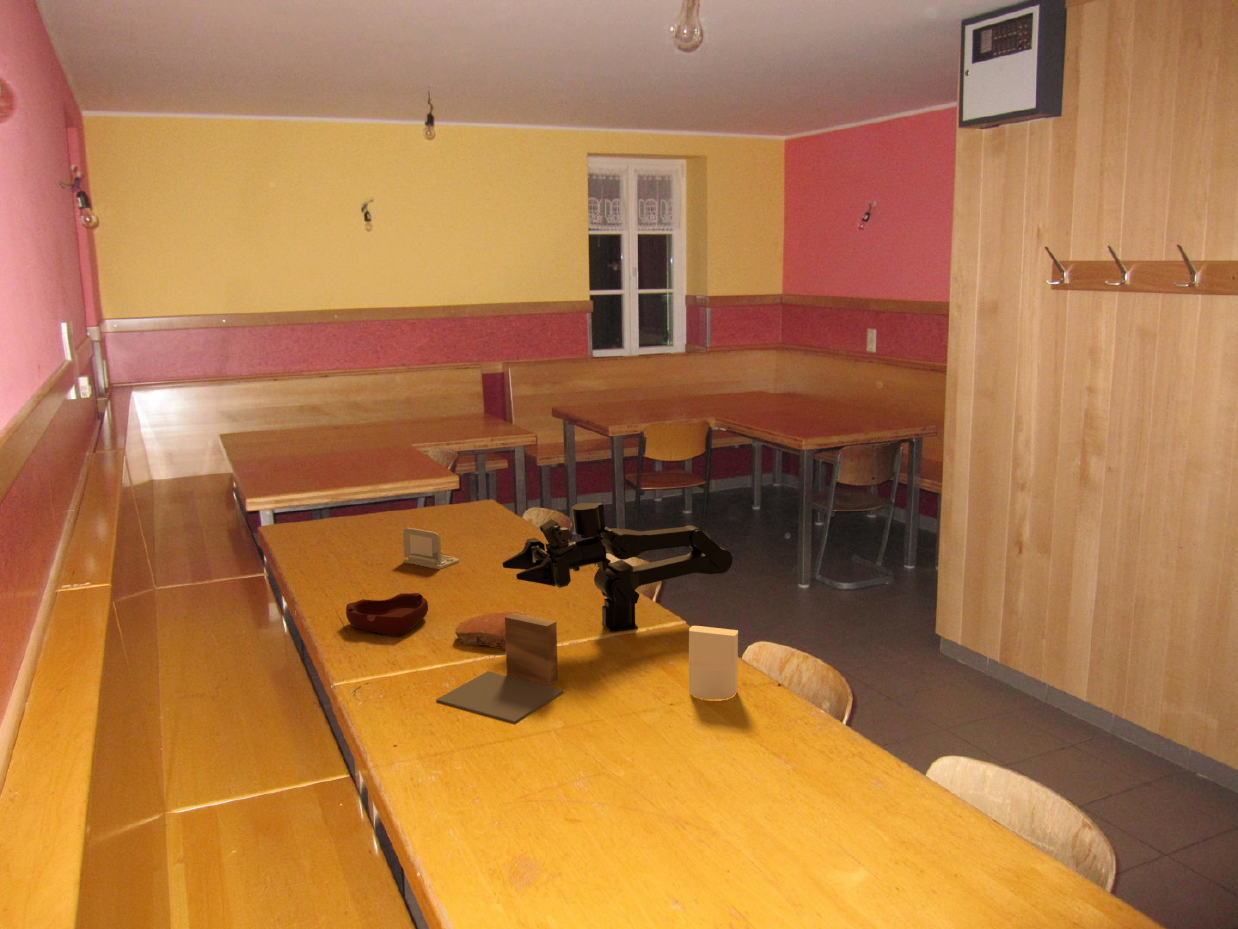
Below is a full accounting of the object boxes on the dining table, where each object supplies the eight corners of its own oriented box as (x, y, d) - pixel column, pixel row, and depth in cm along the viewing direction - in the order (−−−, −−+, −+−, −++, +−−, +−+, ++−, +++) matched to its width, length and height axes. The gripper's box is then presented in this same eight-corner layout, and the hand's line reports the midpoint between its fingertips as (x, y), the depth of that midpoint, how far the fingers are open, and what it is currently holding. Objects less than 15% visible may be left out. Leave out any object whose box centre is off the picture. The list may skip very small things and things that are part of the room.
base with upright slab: (741, 685, 184) (742, 625, 181) (731, 704, 175) (732, 641, 173) (695, 679, 187) (696, 620, 184) (683, 698, 178) (683, 636, 176)
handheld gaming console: (461, 562, 267) (460, 526, 265) (438, 570, 260) (437, 534, 258) (426, 555, 274) (424, 521, 272) (403, 563, 267) (401, 528, 265)
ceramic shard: (472, 601, 218) (536, 614, 216) (468, 629, 219) (531, 642, 216) (449, 614, 204) (517, 629, 201) (445, 644, 204) (512, 659, 202)
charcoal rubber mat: (487, 673, 190) (487, 671, 190) (563, 692, 181) (563, 690, 181) (436, 701, 178) (436, 699, 178) (514, 723, 169) (514, 721, 169)
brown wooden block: (517, 669, 192) (515, 612, 190) (558, 680, 187) (557, 620, 185) (506, 675, 189) (504, 617, 187) (548, 686, 184) (547, 626, 182)
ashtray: (359, 646, 206) (358, 624, 205) (343, 623, 220) (342, 602, 219) (441, 632, 214) (440, 610, 213) (420, 610, 228) (419, 590, 227)
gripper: (558, 509, 215) (490, 524, 209) (590, 527, 198) (518, 545, 192) (564, 556, 217) (498, 573, 211) (596, 579, 201) (526, 597, 195)
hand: (509, 571), depth 202 cm, fingers open, 9 cm apart
